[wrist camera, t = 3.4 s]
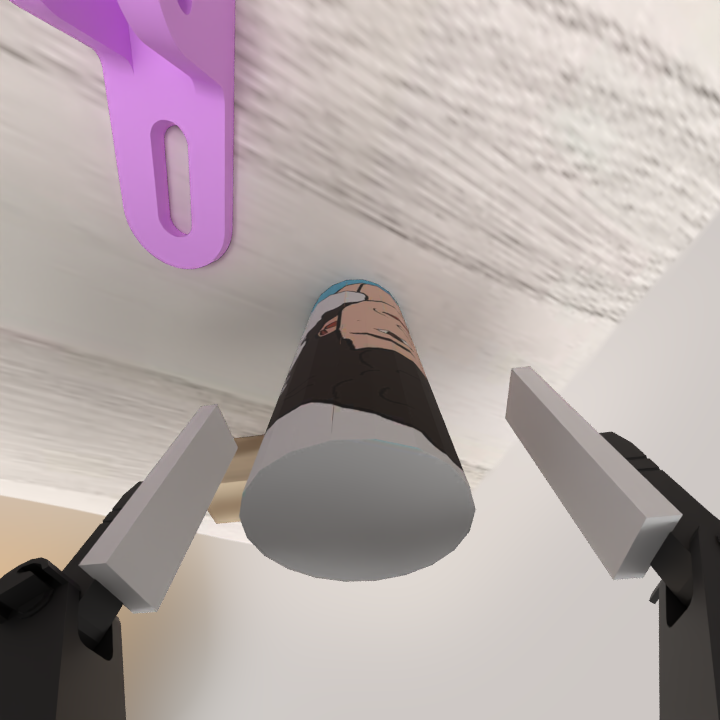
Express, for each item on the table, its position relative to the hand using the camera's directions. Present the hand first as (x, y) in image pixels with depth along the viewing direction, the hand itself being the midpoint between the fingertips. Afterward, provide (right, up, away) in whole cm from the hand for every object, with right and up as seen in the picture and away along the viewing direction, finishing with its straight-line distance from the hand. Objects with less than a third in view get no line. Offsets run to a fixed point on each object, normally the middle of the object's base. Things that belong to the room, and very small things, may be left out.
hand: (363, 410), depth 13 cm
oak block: (-11, -7, +15) cm, 20 cm away
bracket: (-10, +14, +3) cm, 18 cm away
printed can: (0, +5, +8) cm, 10 cm away
